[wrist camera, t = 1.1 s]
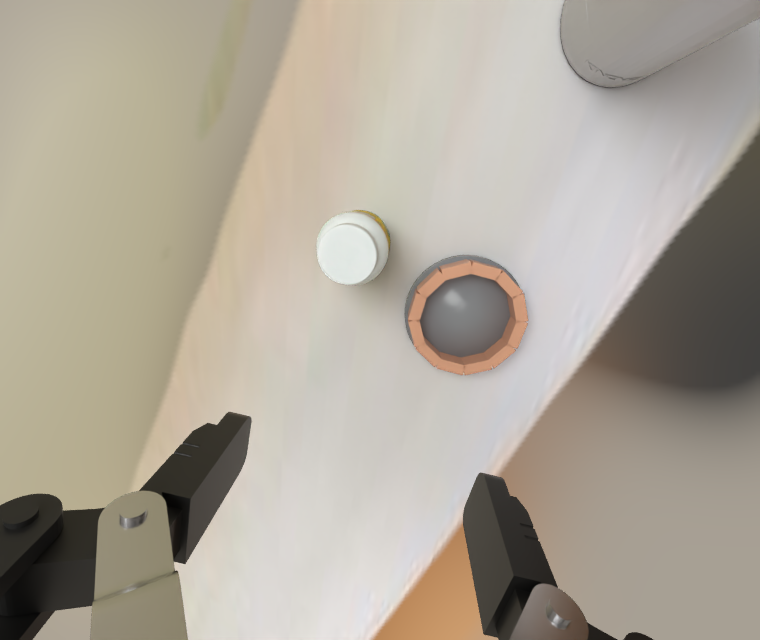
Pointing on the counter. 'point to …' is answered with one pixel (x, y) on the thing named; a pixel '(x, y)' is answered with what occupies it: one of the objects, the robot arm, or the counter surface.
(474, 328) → the ring tray
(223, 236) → the counter surface
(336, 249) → the supplement bottle
